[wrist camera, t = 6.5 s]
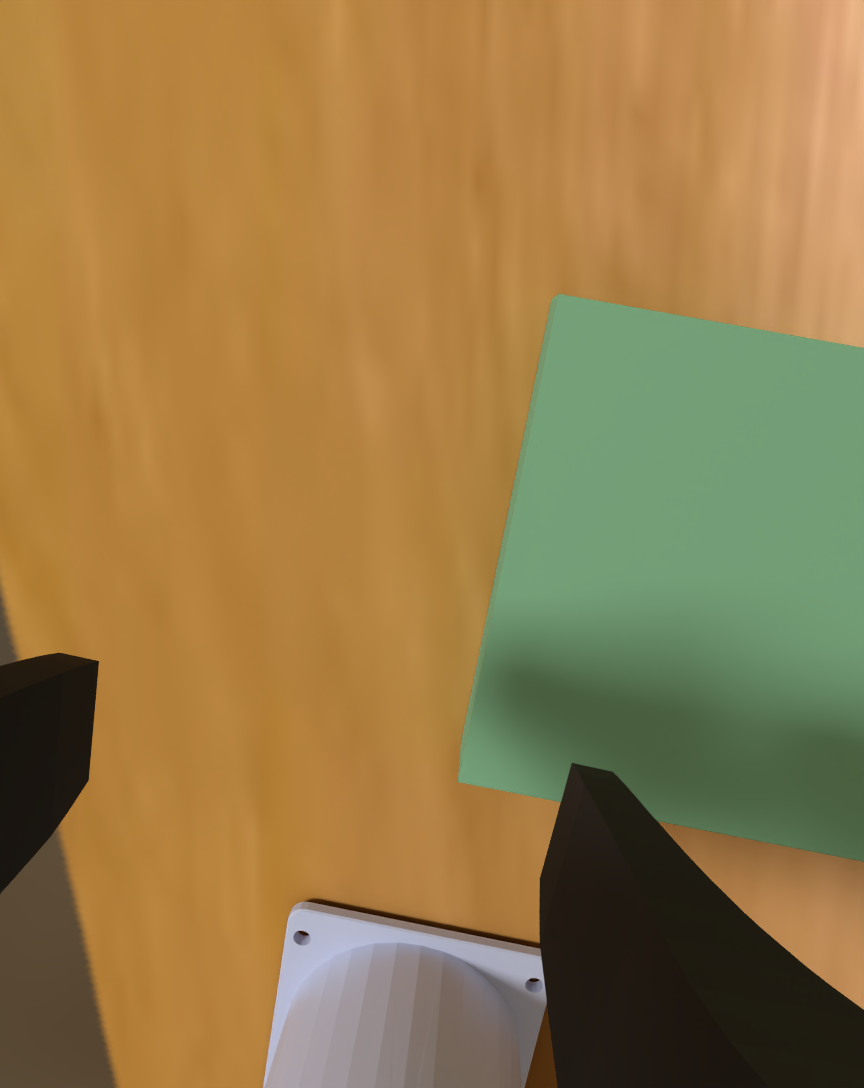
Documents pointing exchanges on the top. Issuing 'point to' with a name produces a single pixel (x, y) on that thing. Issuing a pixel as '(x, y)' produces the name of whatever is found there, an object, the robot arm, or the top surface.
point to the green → (684, 579)
